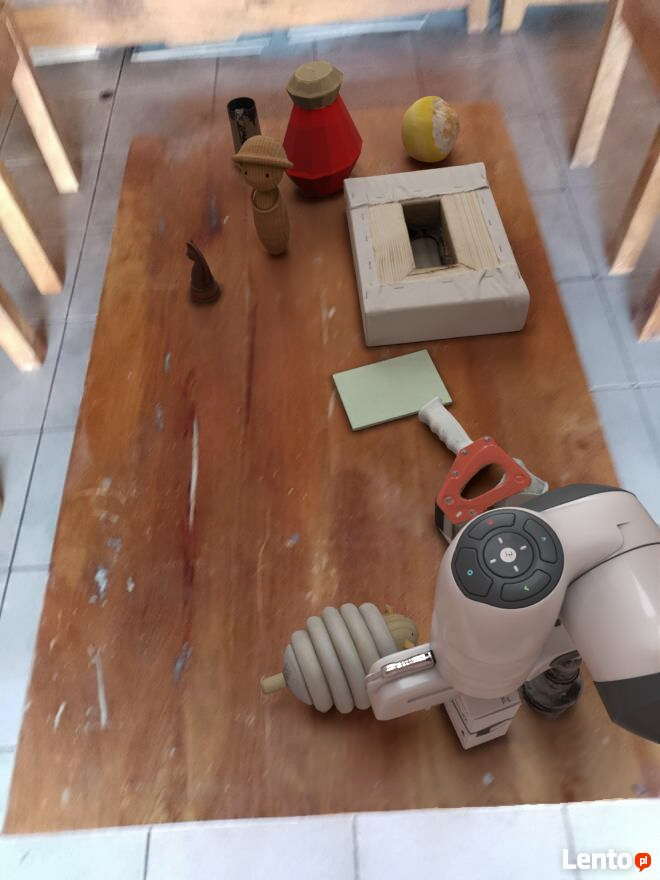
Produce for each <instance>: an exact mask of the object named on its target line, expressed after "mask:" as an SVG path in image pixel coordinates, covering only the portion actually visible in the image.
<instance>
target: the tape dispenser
mask: <svg viewBox="0 0 660 880" xmlns="http://www.w3.org/2000/svg"><path fill="white" fill-rule="evenodd" d="M417 414H418V415H417V417H418V420H419V421H420V422H421V423H424V424H426V425H427V426H428V427H429V428H430V431H431V432H432V433H434V434H435V435H436V436H437V437H438V438H439V440H440V441H441V442H443V443H444V444H445V445H446V448H447V449H448V450H449V451H451V452H453V454H455V455H456V457H455V459H454V461H453V463H452V466H451V468H450V469H449V472H448V474H447V476H446V478H445V480H444V483H442V486H441V488H440V491H439V492H438V494H437V496H436V497H435V499H434V523H435V526H436V527H437V528H438V529H439V531H440V532H441V534H442V536H443V537H444V538H445V540H446V541H447V543H448V544H449V545H450V544H451V542H452V541H453V539H454V538H455V536H456V535H457V534H458V533H459V532H460V530H461V529H462V528H463V527H464V526H465V525H466V524H467V523H468V522H470V521H471V520H472V519H473V518H475V517H477V516H478V515H480V514H482V513H484V511H485V510H488V508H489V507H493V509H497V508H502V507H519V506H521V505H522V504H524V503H526V502H527V501H529V500H531V499H533V498H535V497H537V496H539V495H541V494H543V493H546V492H548V491H549V484H548V482H547V481H544V480H542V479H540V478H539V477H537V476H535V475H534V474H533V473H531V472H530V471H529V470H528V469H527V468H526V466H525V464H524V463H523V461H522V459H519V458H515V457H512V456H511V455H510V454H509V455H508V454H507V452H505V451H504V449H502V447H500V446H498V443H496V441H495V440H494V438H493V437H491V436H490V435H484V436H482V437H480V438H478V439H477V440H475V441H474V440H472V439H471V438H470V436H469V435H468V434H467V432H466V431H465V429H464V428H463V427H462V425H461V424H460V422H459V421H458V420H457V419H456V418H455V417H454V416H453V414H452V413H451V412H450V411H448V410H447V408H445V406H443V404H442V399H441V398H439V397H436V398H434V399H433V400H431V401H430V402H429V403H427V404H426V405H425V406H423V407H422V408H421V410H420V412H419V413H417ZM490 464H497V465H498V466H500V468H501V470H502V478H501V480H500V482H499V483H498V484H497V485H496V486H494V487H493V488H492V489H491V490H488V491H486V492H485V493H482V494H480V495H479V496H477V497H474V498H470V499H467V498H464V497H463V496H462V495H461V494H462V492H463V490H464V489H465V487H466V486H467V485H468V483H469V482H470V481H471V480H472V479H473V477H474V476H475V475H477V474H478V473H479V471H481V470H483V469H484V468H486V467H487V466H489V465H490Z"/></svg>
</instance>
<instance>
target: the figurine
mask: <svg viewBox="0 0 660 880" xmlns="http://www.w3.org/2000/svg"><path fill="white" fill-rule="evenodd" d="M282 145H283V144H281V142H280V141H279V140H277V139H275V137H272V136H270V135H264V134H262V135H257V136H253V137H251V138H249V139H248V140H247V141H245V143H244V144H243V145H242V147H241V149H240V151H239V152H238V154H237V155H235V154H234V155H232V156H231V157H230V158H231V161H232V162H233V163H236V164H237V163H239V164H242V169H241V174H242V177H243V180H244V181H245V183H246V184H247V186H249V187H250V188H252V189H251V191H250V194H249V203H250V206H251V208H252V217H253V223H254V227H255V231H256V234H257V236H258V239H259V240H260V242H261V244H262V246H263V247H264V249H266V251H268V252H269V253H270V254H271V255H279V254H281V253H284V251H285V249H286V248H287V246H288V244H289V241H290V233H291V226H290V225H291V224H290V218H289V212H288V208H287V205H286V201H285V198H284V196H283V194H282V193H281V189H280V188H279V185H280V184H281V182H282V180H283V178H284V174H285V172H284V169H292V168H293V163H291V162H289V161H288V159H287V156H286V152H285V150H284V148H283V146H282Z"/></svg>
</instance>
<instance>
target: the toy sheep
mask: <svg viewBox="0 0 660 880" xmlns="http://www.w3.org/2000/svg"><path fill="white" fill-rule="evenodd" d="M384 609H385V613H381V612H380V610H379V609H378V607H377V606H376V605H375V604H374V603H372V602H364V603H362V604H361V605H359V607H357V606H356V605H355V604H353V603H351V602H350V603H349V602H348V603H344V604H342V605H341V606H340V608H339V610H338V608H336V607H333V606H326V607H325V608H324V609H323V610H322V612H321V616H320V617H319V616H317V615H312V616H309V617H308V618H307V620H306V622H305V628H306V630H304V629H299V630H295V631H294V632H293V633H292V634H291V636H290V643H288V644H287V646H286V648H285V650H284V654H283V659H282V672H280V673H277V674H274V675H272V676H269V677H265V678H264V679H262V680H261V681H260V683H259V686H260V690H261V692H262V694H263V695H266V696H267V695H270V694H273V693H276V692H278V691H281V690H284V689H287V688H288V689H289V690H290V692H291V693H292V694H293V695H294V697H296V698H297V699H298V700H300V701H301V702H302V703H304V704H306V705H309V706H312V705H314V708H315V709H316V710H317V711H319V712H321V713H327V712H328V711H329V710H330V709H331V708H332V707H333V705H334V706H335V707H336V709H337V710H338V712H340V713H341V714H349V713H350V712H352V711H353V709H354V706H355V707H356V708H357V709H359V710H367V709H368V708H369V709H370V707H371V703H370V699H369V696H368V692H367V690H366V689H365V677H366V676H367V675H368V673H369V670H370V668H371V667H372V665H373V664H374V663H375V662H376V661H378V660H379V659H381V658H383V657H386V656H388V655H391V654H394V653H397V652H400V651H403V650H407V649H410V648H413V647H416V646H417V644H418V641H419V635H420V634H419V629H418V626H417V624H416V623H415V622H414V621H413V620H412V619H411V618H409V617H408V616H406V615H403V614H400V613H394V611H395V608H394V607H393V606H392V605H390V604H385V606H384Z"/></svg>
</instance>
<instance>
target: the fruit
mask: <svg viewBox="0 0 660 880" xmlns="http://www.w3.org/2000/svg"><path fill="white" fill-rule="evenodd" d="M460 131H461V125H460V118H459V115H458V113H456V111H455V110H454V109H453V107H452V105H450V104H449V103H448V102H446V101H445V100H444V99H443V98H441V97H440V96H436V95H428V96H424V97H420V98H419V99H417V100H416V101H415V102H413V103H411V105H410V107H409V108H408V109H407V110H406V112H405V114H404V115H403V119H402V122H401V133H400V134H401V136H400V137H401V142H402V143H401V144H402V146H403V148H404V150H405V152H406V153H407V154H408V155H409V156H410V157H411V158H412V159H414V160H415V161H419V162H422V163H437V162H441V161H442V160H445V159H446V158H447V157H448V155H449V153H450V152H451V150H453V148H454V147H455V145H456V143H457V141H458V136H459V134H460Z"/></svg>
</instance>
